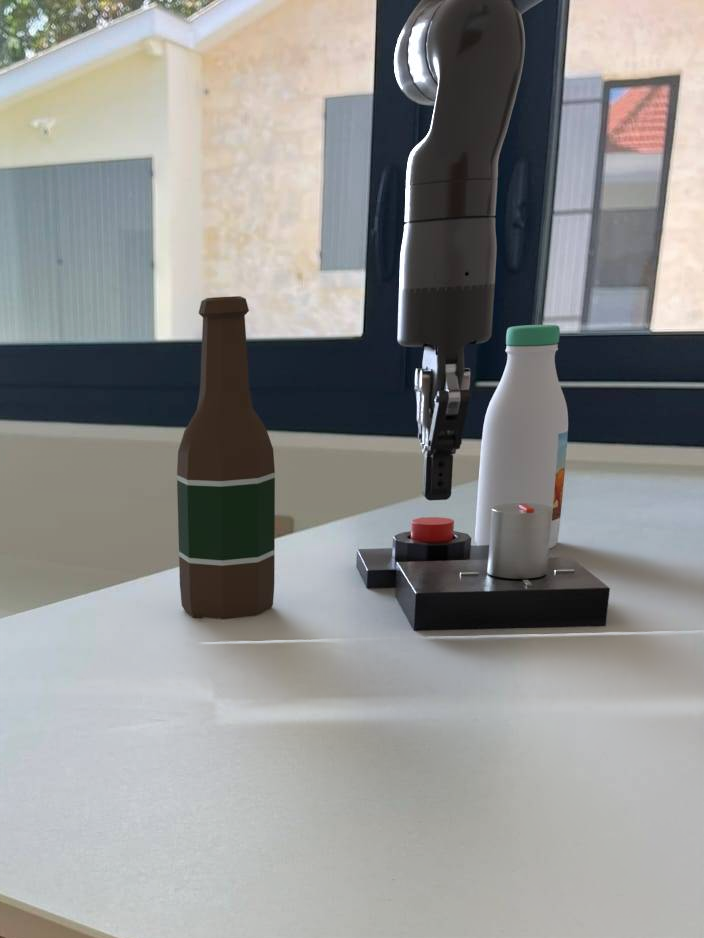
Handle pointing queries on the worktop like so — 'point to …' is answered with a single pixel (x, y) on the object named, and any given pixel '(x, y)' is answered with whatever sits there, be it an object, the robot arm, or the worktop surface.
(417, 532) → the button
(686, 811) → the worktop surface
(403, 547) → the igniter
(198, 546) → the beer bottle
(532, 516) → the burner knob
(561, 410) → the milk bottle
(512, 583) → the panel
